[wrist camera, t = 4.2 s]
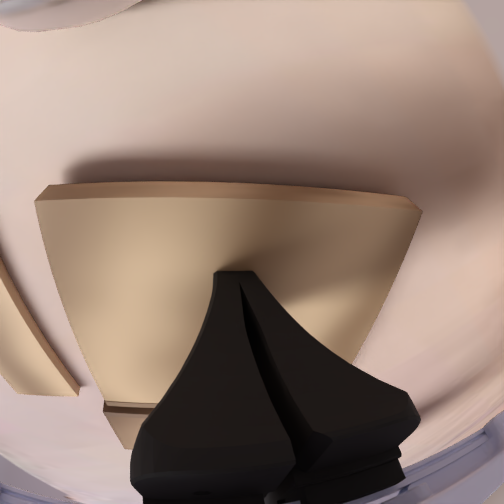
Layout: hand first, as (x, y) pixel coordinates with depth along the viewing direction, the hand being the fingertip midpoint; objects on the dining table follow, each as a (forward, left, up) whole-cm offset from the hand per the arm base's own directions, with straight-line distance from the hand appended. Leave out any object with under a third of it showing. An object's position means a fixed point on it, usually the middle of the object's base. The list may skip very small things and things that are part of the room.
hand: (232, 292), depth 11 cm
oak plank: (0, +2, -1) cm, 3 cm away
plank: (+12, +3, -2) cm, 13 cm away
